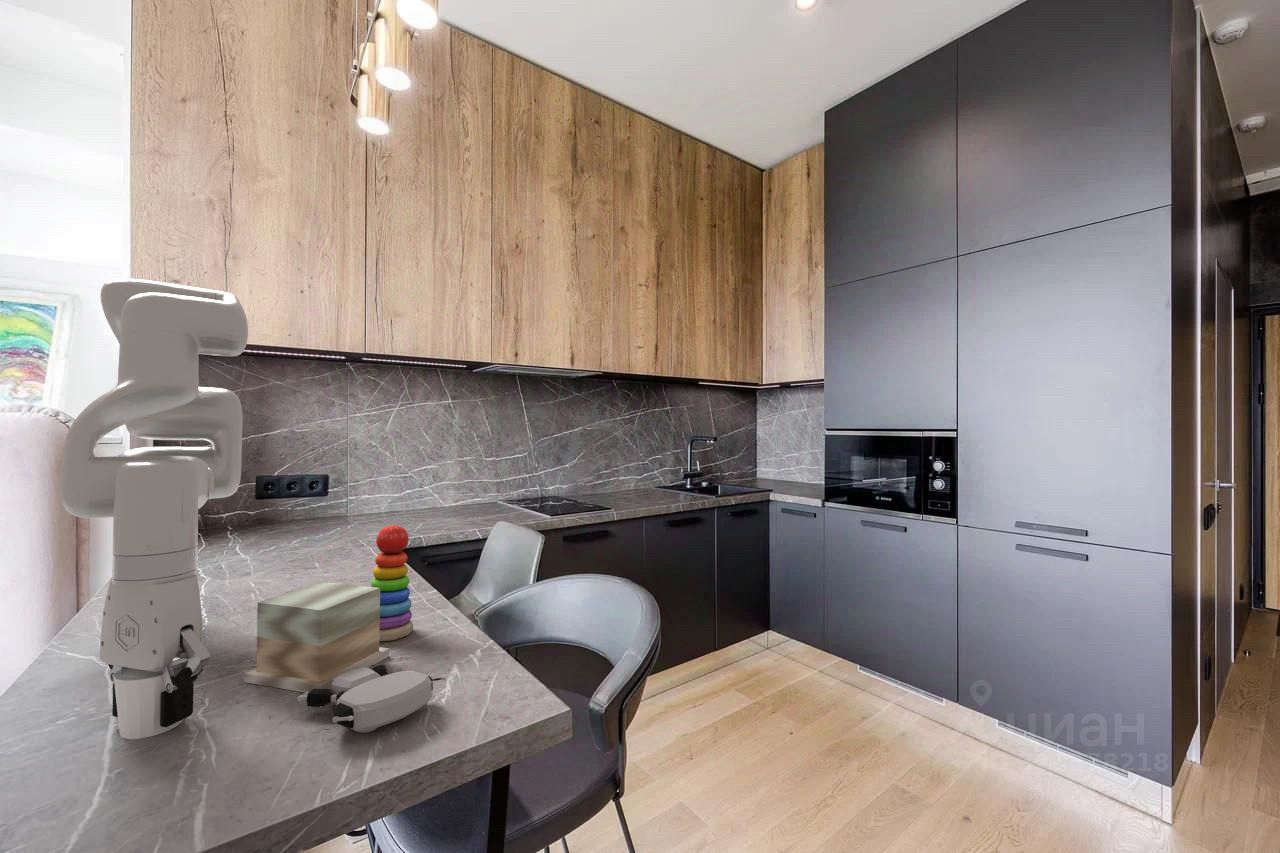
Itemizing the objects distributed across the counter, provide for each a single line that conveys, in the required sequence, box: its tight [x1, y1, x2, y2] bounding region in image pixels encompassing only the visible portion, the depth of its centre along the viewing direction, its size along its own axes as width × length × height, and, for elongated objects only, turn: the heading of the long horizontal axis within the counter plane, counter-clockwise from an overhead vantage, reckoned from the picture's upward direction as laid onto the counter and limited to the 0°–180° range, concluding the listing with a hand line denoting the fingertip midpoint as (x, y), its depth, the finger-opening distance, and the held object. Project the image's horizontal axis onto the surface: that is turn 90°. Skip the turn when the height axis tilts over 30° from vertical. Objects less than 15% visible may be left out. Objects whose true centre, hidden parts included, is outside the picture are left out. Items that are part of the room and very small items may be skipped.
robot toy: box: [296, 664, 448, 734], centre depth 68 cm, size 12×4×15 cm
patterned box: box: [243, 581, 390, 694], centre depth 80 cm, size 13×13×11 cm
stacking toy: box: [370, 524, 414, 642], centre depth 93 cm, size 8×8×19 cm
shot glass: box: [113, 657, 184, 740], centre depth 64 cm, size 7×7×7 cm
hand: (152, 714), depth 64 cm, fingers open, 6 cm apart
